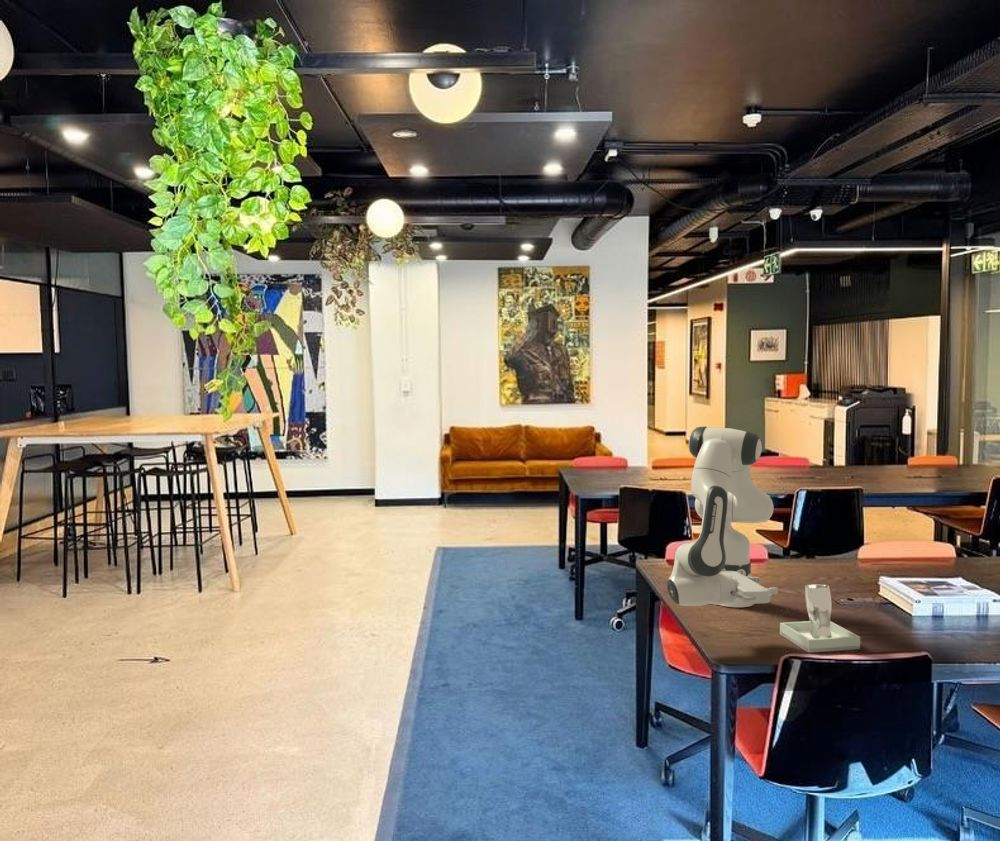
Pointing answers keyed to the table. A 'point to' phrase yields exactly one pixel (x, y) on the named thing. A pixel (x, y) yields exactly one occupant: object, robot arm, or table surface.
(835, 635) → the light gray opaque tray
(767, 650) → the table surface
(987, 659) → the table surface
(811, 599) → the beer glass
